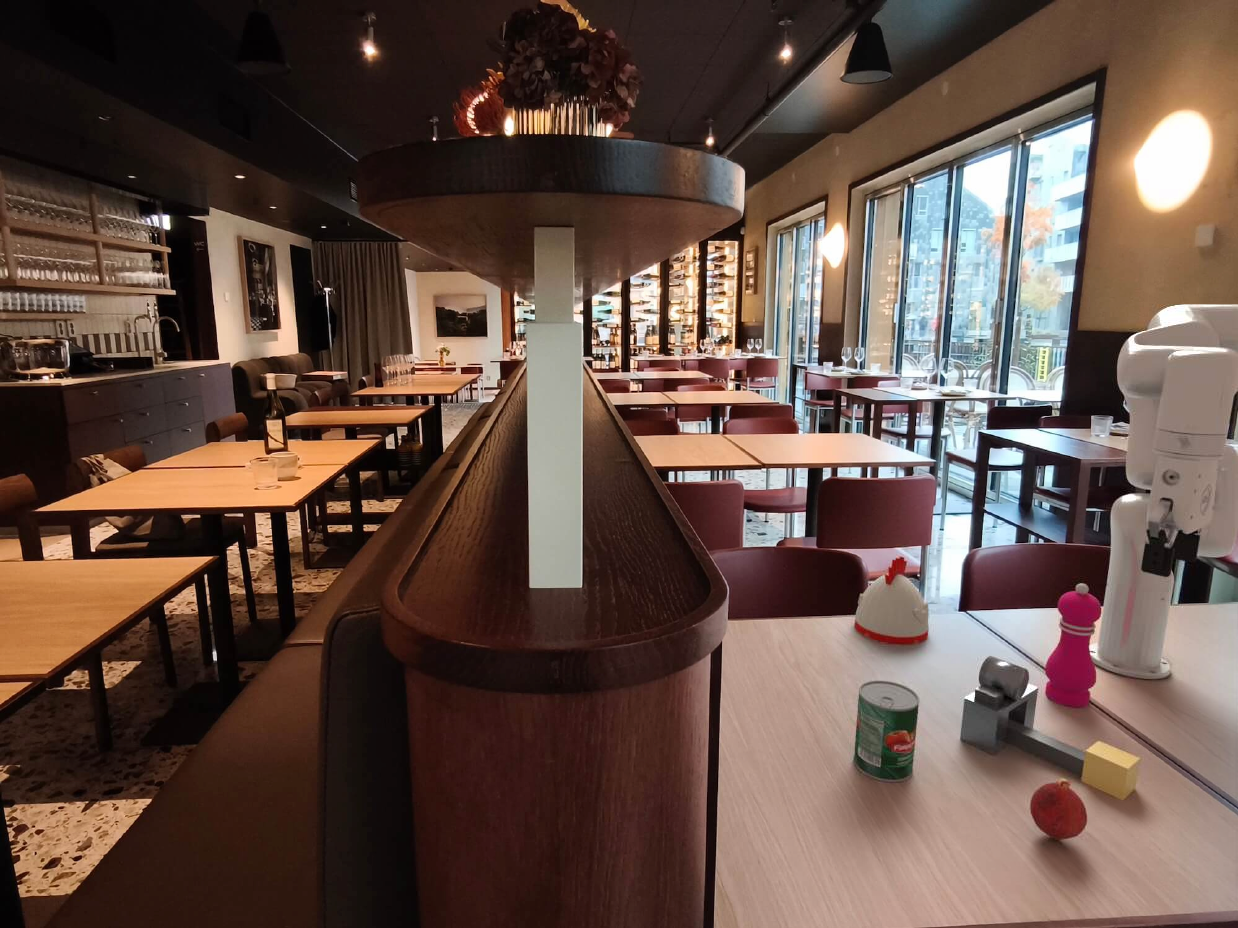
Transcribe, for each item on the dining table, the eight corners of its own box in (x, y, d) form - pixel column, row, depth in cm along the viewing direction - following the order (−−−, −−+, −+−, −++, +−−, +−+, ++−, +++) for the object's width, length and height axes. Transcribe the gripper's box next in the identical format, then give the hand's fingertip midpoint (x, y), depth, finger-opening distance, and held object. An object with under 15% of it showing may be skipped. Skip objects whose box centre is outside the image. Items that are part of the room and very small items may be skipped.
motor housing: (1000, 713, 116) (1008, 646, 114) (1033, 727, 112) (1042, 658, 110) (960, 739, 109) (967, 667, 107) (993, 755, 105) (1002, 681, 103)
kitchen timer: (938, 629, 147) (945, 558, 144) (911, 651, 138) (918, 576, 135) (872, 610, 157) (877, 543, 154) (842, 630, 147) (847, 559, 144)
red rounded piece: (1055, 859, 85) (1063, 798, 83) (1015, 827, 90) (1023, 769, 89) (1094, 849, 87) (1103, 790, 85) (1053, 818, 92) (1061, 761, 90)
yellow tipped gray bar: (987, 722, 114) (990, 695, 113) (1135, 788, 98) (1140, 758, 97) (973, 731, 111) (977, 703, 110) (1122, 800, 96) (1127, 768, 95)
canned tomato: (858, 743, 108) (864, 674, 106) (915, 758, 104) (922, 687, 102) (848, 772, 101) (854, 700, 99) (909, 789, 98) (916, 714, 95)
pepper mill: (1100, 711, 117) (1118, 593, 113) (1051, 706, 118) (1066, 590, 114) (1081, 689, 124) (1098, 577, 120) (1035, 684, 125) (1049, 574, 121)
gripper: (1200, 456, 89) (1178, 588, 92) (1244, 441, 99) (1223, 561, 103) (1130, 447, 95) (1112, 571, 98) (1178, 434, 105) (1160, 548, 108)
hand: (1168, 566), depth 100 cm, fingers open, 9 cm apart
